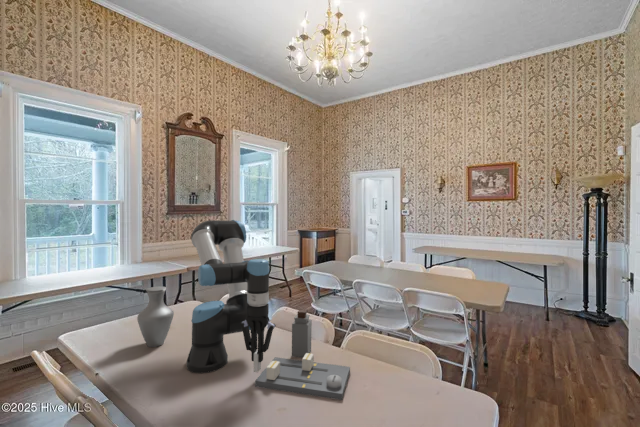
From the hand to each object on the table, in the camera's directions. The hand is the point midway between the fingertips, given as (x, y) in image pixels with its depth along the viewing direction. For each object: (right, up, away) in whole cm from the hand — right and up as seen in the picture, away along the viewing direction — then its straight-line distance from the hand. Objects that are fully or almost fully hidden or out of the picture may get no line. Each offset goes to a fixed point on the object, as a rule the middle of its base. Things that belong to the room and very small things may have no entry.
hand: (257, 370), depth 109 cm
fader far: (+18, -2, +5) cm, 19 cm away
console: (+17, -4, +1) cm, 17 cm away
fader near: (+6, -1, -1) cm, 6 cm away
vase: (-52, -3, +29) cm, 59 cm away
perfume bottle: (+14, -4, +21) cm, 26 cm away
